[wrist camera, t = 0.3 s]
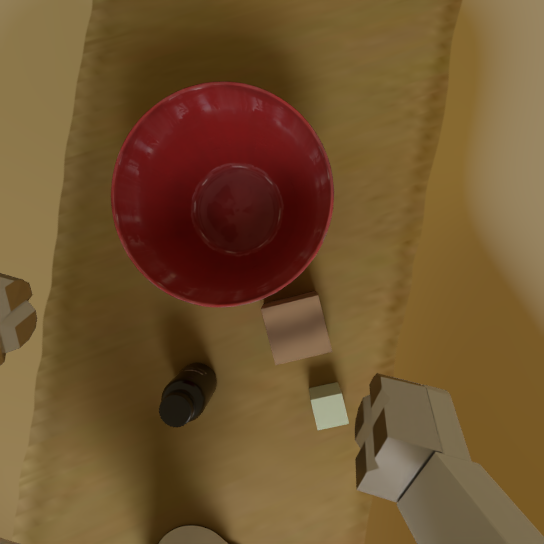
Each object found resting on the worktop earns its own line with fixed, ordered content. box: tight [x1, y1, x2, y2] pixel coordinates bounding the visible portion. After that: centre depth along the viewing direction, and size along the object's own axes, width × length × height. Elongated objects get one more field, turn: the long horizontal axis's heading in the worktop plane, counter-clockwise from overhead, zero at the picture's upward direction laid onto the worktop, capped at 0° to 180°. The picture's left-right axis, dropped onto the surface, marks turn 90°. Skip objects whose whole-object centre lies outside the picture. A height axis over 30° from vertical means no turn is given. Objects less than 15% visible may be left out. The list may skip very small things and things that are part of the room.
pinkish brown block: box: [261, 291, 332, 365], centre depth 59 cm, size 9×9×6 cm
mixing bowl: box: [111, 82, 334, 307], centre depth 53 cm, size 28×28×15 cm
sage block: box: [309, 382, 349, 430], centre depth 60 cm, size 5×5×5 cm
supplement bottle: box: [159, 363, 217, 427], centre depth 57 cm, size 7×7×12 cm
